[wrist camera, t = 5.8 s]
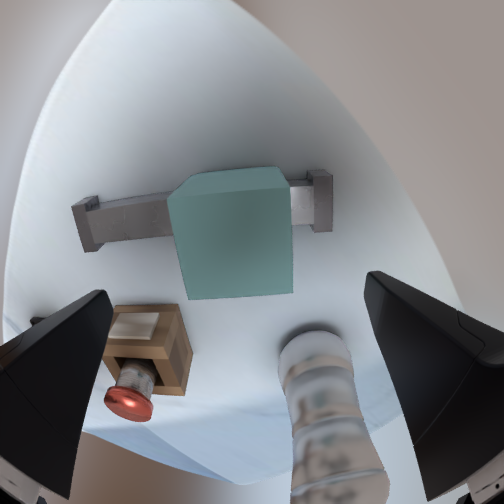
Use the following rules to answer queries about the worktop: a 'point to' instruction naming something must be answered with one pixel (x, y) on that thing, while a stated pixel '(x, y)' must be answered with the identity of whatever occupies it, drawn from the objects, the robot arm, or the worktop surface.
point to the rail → (158, 219)
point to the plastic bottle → (328, 425)
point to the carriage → (234, 233)
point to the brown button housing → (151, 344)
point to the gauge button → (133, 390)
